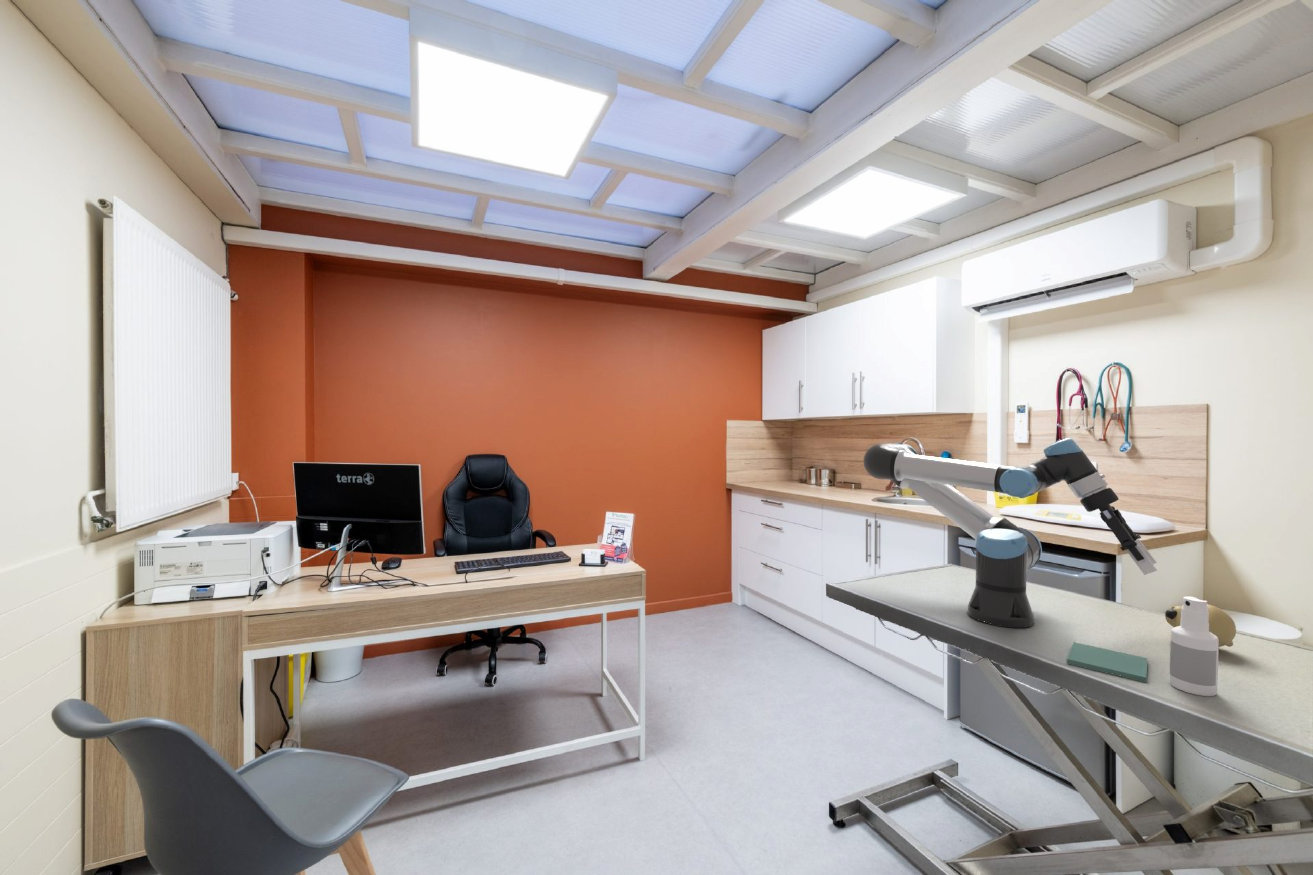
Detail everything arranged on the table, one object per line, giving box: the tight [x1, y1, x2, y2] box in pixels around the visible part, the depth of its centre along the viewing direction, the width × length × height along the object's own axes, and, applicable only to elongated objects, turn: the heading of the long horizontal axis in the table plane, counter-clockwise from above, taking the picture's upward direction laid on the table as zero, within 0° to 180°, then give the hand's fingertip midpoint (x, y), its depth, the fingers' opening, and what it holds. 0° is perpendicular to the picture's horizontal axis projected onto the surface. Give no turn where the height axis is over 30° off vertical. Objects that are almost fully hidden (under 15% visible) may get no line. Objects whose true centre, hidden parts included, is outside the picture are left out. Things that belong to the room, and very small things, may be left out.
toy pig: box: [1164, 603, 1237, 648], centre depth 131 cm, size 10×12×11 cm
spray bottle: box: [1168, 595, 1220, 697], centre depth 109 cm, size 7×7×18 cm
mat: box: [1066, 642, 1148, 683], centre depth 121 cm, size 13×13×1 cm
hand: (1150, 568), depth 137 cm, fingers open, 13 cm apart
